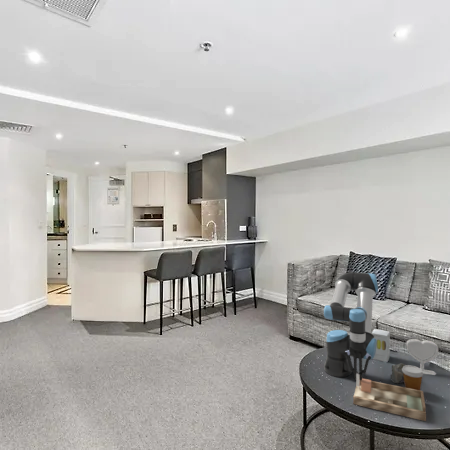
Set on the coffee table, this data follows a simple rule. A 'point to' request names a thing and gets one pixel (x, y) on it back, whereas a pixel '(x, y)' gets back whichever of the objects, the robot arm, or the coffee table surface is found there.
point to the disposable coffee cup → (412, 377)
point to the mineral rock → (397, 373)
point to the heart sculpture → (422, 352)
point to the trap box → (392, 400)
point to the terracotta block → (366, 385)
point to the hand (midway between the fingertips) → (358, 385)
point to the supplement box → (382, 345)
